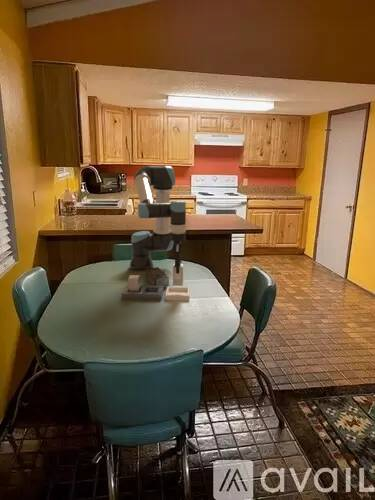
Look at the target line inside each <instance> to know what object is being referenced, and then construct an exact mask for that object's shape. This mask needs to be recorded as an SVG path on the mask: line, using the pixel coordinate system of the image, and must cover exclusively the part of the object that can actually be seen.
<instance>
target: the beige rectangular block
mask: <svg viewBox="0 0 375 500" xmlns="http://www.w3.org/2000/svg"><path fill="white" fill-rule="evenodd" d="M140 276H141V275H139V274H135V275H134V274H129V276H128V285H129V292H140V285H141V277H140Z"/></svg>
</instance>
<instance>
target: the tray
mask: <svg viewBox="0 0 375 500" xmlns="http://www.w3.org/2000/svg"><path fill="white" fill-rule="evenodd" d="M190 290H191V287H190V286H169V287H166V291H165V297H164V298H165V301H190V293H191V291H190Z"/></svg>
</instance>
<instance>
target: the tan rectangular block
mask: <svg viewBox="0 0 375 500" xmlns="http://www.w3.org/2000/svg"><path fill="white" fill-rule="evenodd" d="M174 266H175V263H173V264H172V287H184V286H183V285H184V263H181V264H180V266H181V268H180V279H175V267H174Z"/></svg>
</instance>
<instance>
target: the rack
mask: <svg viewBox="0 0 375 500" xmlns="http://www.w3.org/2000/svg"><path fill="white" fill-rule="evenodd" d="M164 289H165V287H164V286H153V285H141V284H140V292H129V284H128V285H127V284H125V287H124V289H123V290H122V292H121V300H134V301H135V300H139V301H140V300H142V301H143V300H144V301H145V300H146V301H162V299H163V296H164V291H165V290H164Z"/></svg>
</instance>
